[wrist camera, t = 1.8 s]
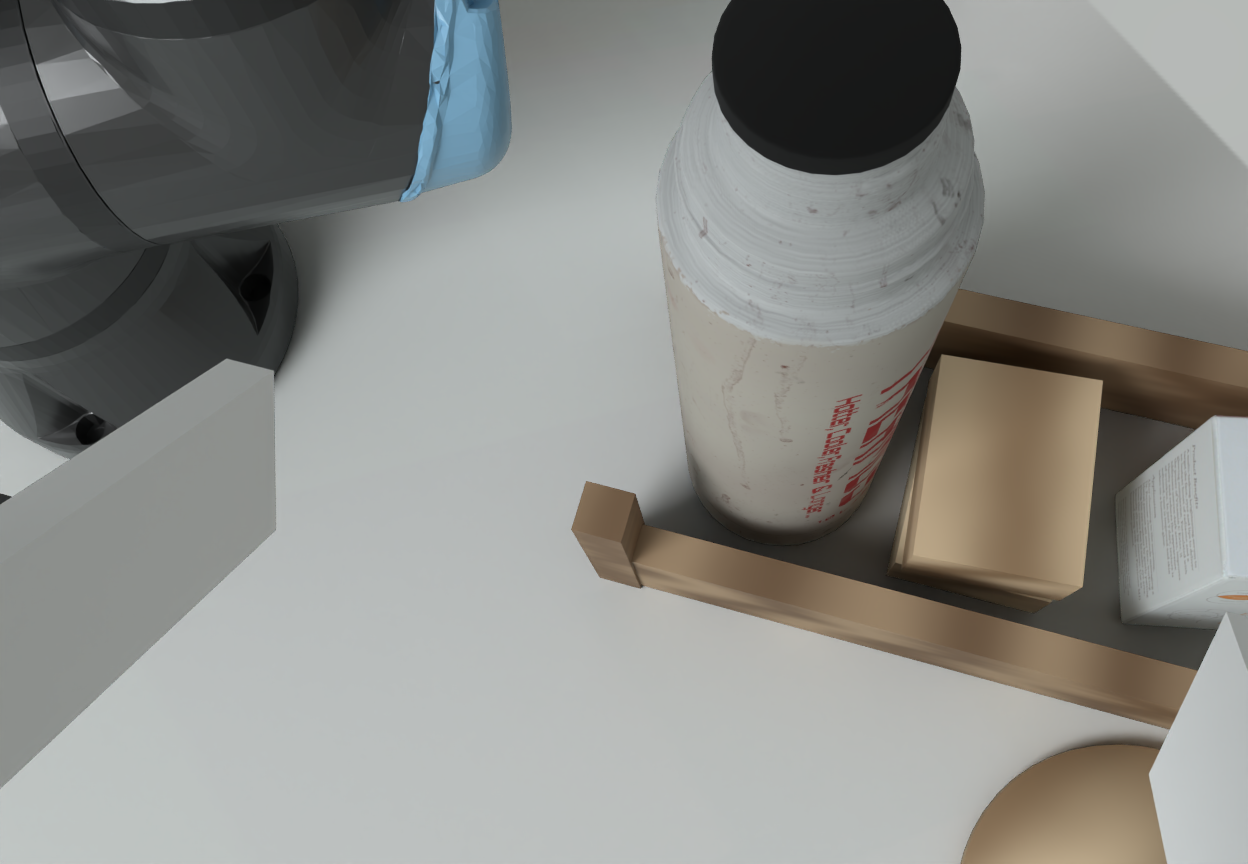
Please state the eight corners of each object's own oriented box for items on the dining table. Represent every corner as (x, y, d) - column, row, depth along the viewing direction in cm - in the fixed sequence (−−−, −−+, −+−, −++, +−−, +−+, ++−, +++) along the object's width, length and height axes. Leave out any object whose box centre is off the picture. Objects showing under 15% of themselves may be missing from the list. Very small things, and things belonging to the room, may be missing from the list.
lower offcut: (885, 576, 47) (895, 562, 44) (923, 401, 49) (936, 377, 46) (1031, 614, 46) (1051, 602, 43) (1064, 433, 48) (1085, 411, 45)
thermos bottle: (911, 480, 48) (1139, 85, 21) (754, 582, 47) (787, 304, 20) (803, 336, 50) (885, -180, 24) (652, 431, 49) (563, 7, 23)
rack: (599, 577, 48) (571, 529, 39) (688, 278, 52) (680, 175, 43) (1299, 769, 43) (1440, 761, 34) (1339, 424, 47) (1474, 341, 38)
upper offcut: (900, 570, 44) (913, 554, 41) (928, 381, 46) (941, 354, 43) (1059, 601, 43) (1082, 587, 40) (1079, 406, 45) (1103, 380, 43)
